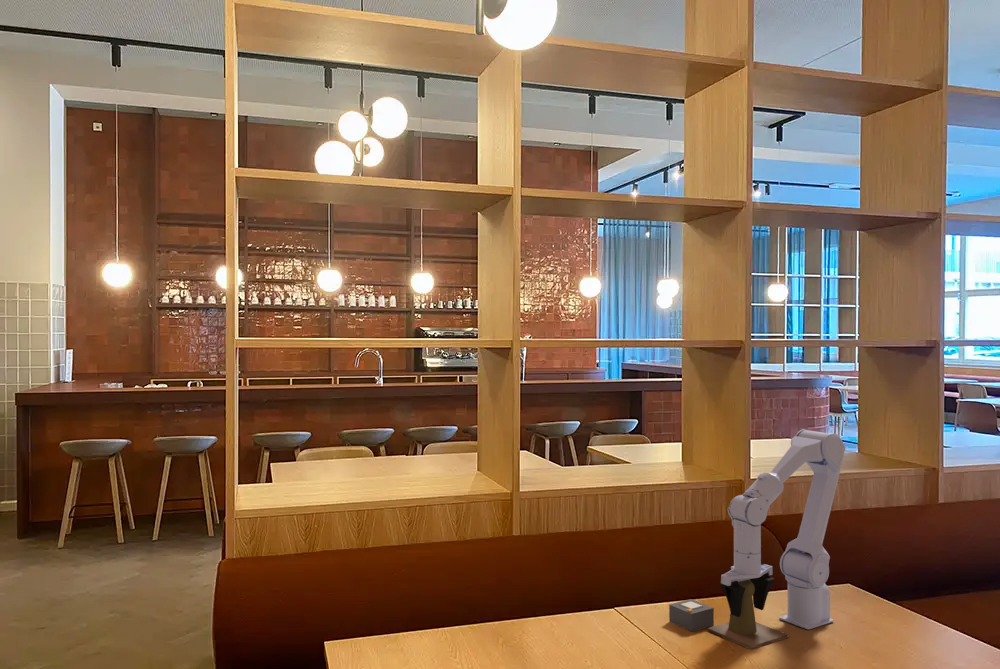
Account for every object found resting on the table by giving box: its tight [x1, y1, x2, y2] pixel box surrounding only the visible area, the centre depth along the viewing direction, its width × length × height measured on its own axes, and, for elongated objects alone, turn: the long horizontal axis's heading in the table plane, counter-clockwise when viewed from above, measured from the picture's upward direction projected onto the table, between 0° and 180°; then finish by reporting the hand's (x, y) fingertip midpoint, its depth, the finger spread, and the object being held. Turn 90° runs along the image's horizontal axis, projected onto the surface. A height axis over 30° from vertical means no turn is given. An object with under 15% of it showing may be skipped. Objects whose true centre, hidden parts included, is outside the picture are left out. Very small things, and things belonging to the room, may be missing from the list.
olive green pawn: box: [728, 579, 757, 635], centre depth 172 cm, size 6×6×11 cm
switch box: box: [668, 598, 715, 632], centre depth 177 cm, size 7×7×4 cm
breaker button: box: [681, 602, 702, 610], centre depth 177 cm, size 3×3×3 cm
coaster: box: [707, 621, 789, 650], centre depth 171 cm, size 12×12×1 cm
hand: (747, 611), depth 171 cm, fingers open, 7 cm apart
